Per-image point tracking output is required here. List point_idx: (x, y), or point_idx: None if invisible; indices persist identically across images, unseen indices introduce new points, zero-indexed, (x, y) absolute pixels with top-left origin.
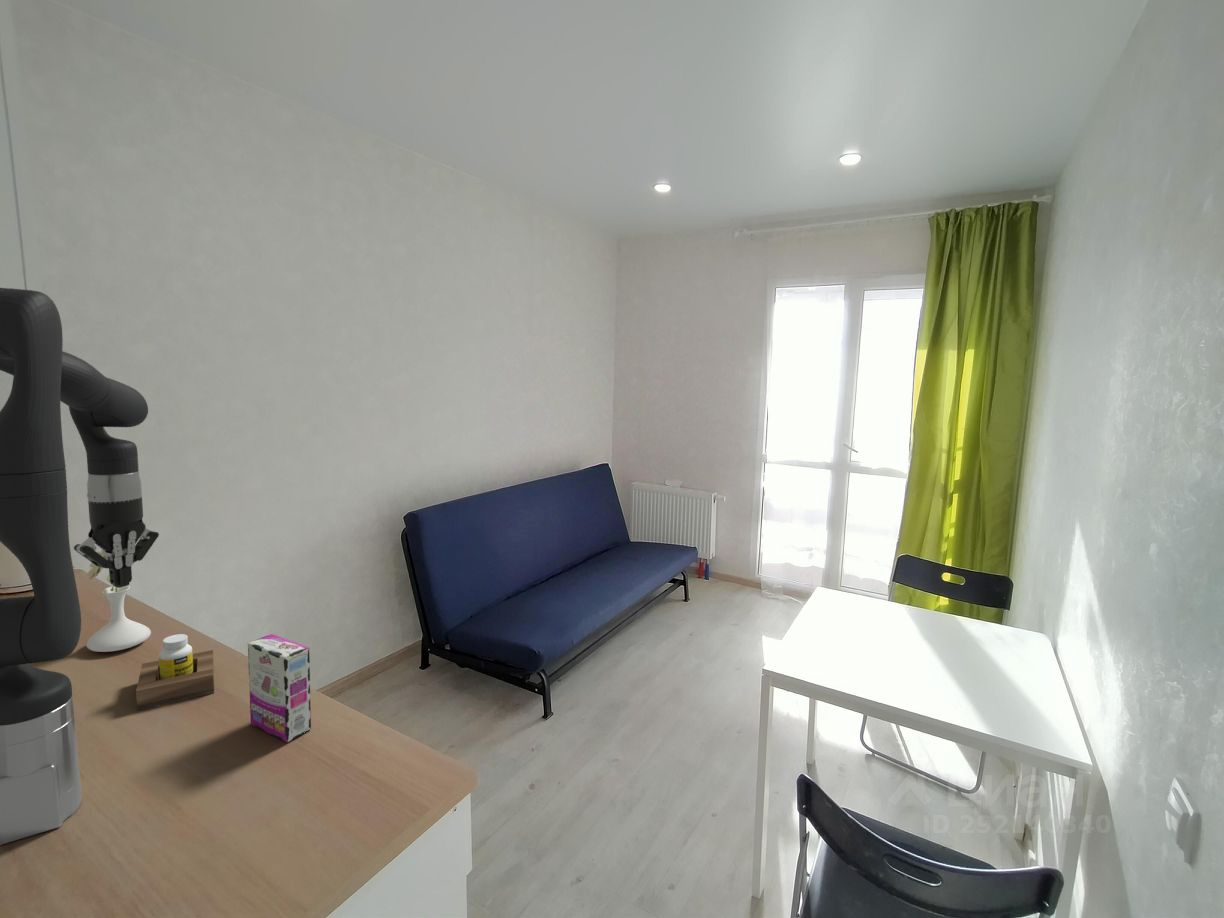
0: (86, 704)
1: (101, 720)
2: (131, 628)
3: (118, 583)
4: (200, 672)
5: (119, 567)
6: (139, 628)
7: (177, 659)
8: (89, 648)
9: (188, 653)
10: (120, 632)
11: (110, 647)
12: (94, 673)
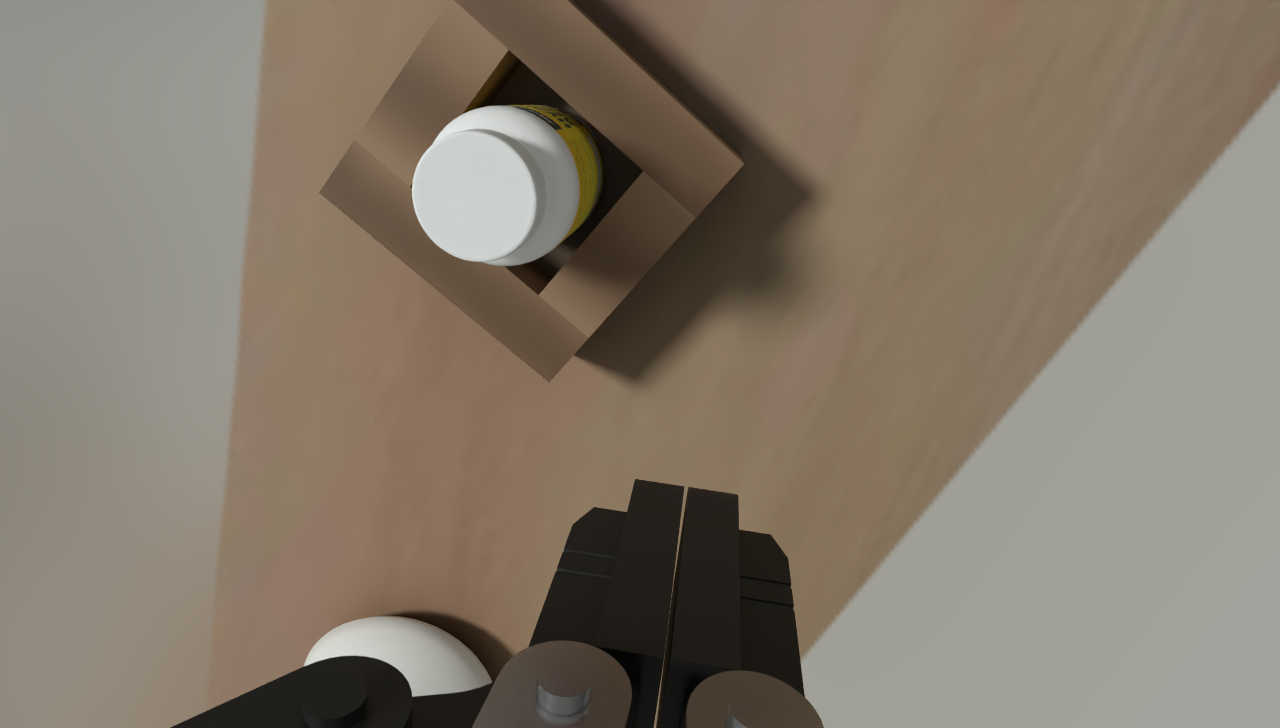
0: (761, 392)
1: (835, 225)
2: None
3: (741, 541)
4: (504, 26)
5: (747, 690)
6: None
7: (543, 119)
8: None
9: (481, 108)
10: None
11: (468, 661)
12: None
